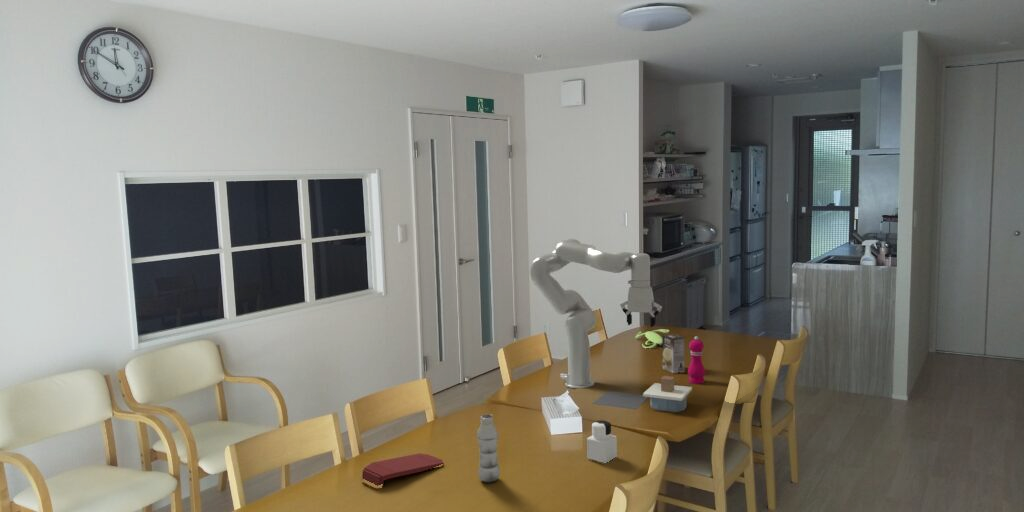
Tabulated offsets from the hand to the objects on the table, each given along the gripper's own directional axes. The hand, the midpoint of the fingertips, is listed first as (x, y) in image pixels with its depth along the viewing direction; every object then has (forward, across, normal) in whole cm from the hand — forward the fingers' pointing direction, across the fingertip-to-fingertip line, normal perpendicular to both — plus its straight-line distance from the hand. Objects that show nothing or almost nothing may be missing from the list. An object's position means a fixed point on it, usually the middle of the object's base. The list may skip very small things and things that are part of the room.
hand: (641, 325), depth 294 cm
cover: (+22, +15, -14) cm, 30 cm away
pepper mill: (+28, +17, +22) cm, 40 cm away
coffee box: (+28, +3, +36) cm, 46 cm away
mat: (+28, -4, -14) cm, 32 cm away
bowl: (+28, +15, -14) cm, 35 cm away
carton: (+29, -42, -106) cm, 118 cm away
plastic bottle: (+28, -14, -100) cm, 105 cm away
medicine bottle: (+28, +10, -71) cm, 77 cm away
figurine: (+29, -21, +85) cm, 92 cm away
